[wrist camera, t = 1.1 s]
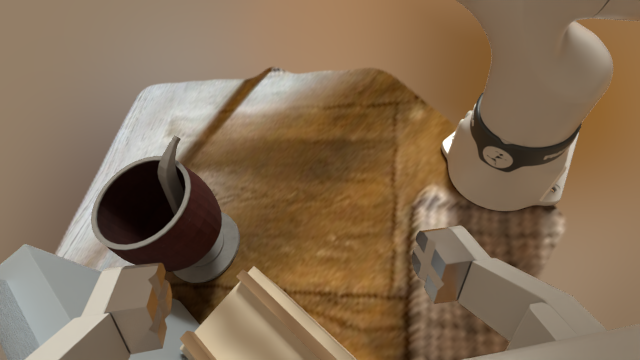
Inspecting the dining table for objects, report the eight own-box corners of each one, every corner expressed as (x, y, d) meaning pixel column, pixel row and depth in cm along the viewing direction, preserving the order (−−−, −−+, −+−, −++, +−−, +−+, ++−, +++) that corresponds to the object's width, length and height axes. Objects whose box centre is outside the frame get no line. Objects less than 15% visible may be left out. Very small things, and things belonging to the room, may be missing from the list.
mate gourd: (204, 306, 50) (113, 270, 33) (148, 259, 56) (45, 208, 39) (267, 223, 56) (215, 156, 39) (210, 188, 61) (142, 116, 44)
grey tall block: (179, 300, 51) (24, 243, 29) (237, 369, 45) (96, 362, 23) (137, 344, 49) (-65, 318, 27) (192, 423, 43) (-12, 472, 21)
